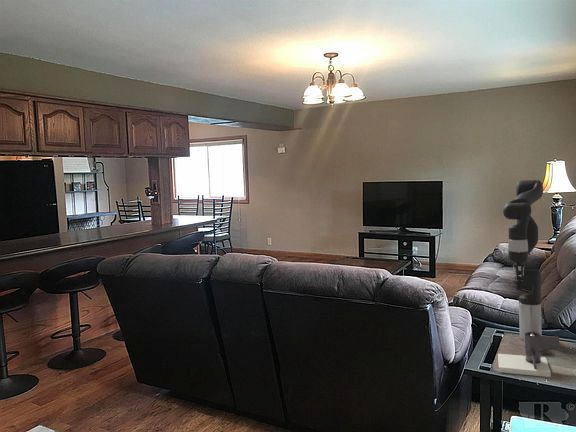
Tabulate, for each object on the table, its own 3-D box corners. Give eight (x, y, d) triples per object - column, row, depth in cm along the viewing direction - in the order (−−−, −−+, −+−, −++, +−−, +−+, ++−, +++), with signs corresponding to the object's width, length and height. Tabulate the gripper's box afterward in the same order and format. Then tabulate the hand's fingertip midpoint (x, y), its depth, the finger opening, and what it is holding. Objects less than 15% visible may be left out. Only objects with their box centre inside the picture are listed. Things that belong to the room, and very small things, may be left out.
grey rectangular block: (524, 345, 191) (524, 331, 190) (558, 348, 186) (558, 334, 186) (525, 350, 186) (525, 336, 185) (560, 353, 181) (560, 338, 181)
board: (497, 358, 197) (497, 353, 197) (545, 362, 190) (545, 357, 190) (499, 372, 183) (499, 367, 183) (550, 377, 176) (550, 372, 176)
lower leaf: (525, 357, 191) (524, 331, 190) (540, 359, 189) (539, 332, 188) (527, 368, 181) (526, 340, 180) (543, 369, 179) (542, 342, 178)
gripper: (507, 247, 203) (508, 283, 204) (509, 252, 190) (510, 290, 191) (526, 247, 200) (527, 283, 201) (529, 252, 187) (530, 291, 188)
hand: (518, 287), depth 196 cm, fingers open, 8 cm apart
